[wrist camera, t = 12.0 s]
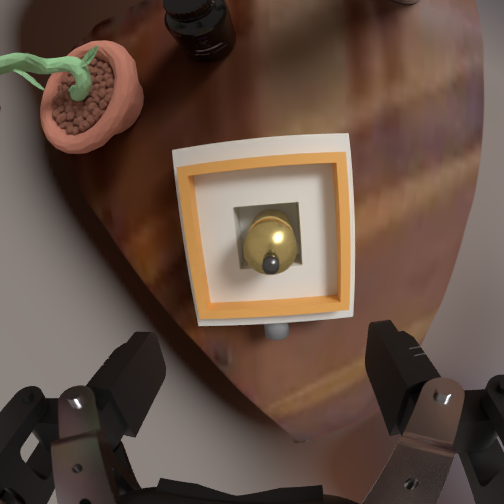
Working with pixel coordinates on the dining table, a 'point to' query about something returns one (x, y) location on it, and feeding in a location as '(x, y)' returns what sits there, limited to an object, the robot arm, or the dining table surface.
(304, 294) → the white box with knob
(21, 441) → the robot arm
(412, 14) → the dining table surface
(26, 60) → the decorative flower
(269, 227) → the oil can
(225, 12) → the supplement bottle
